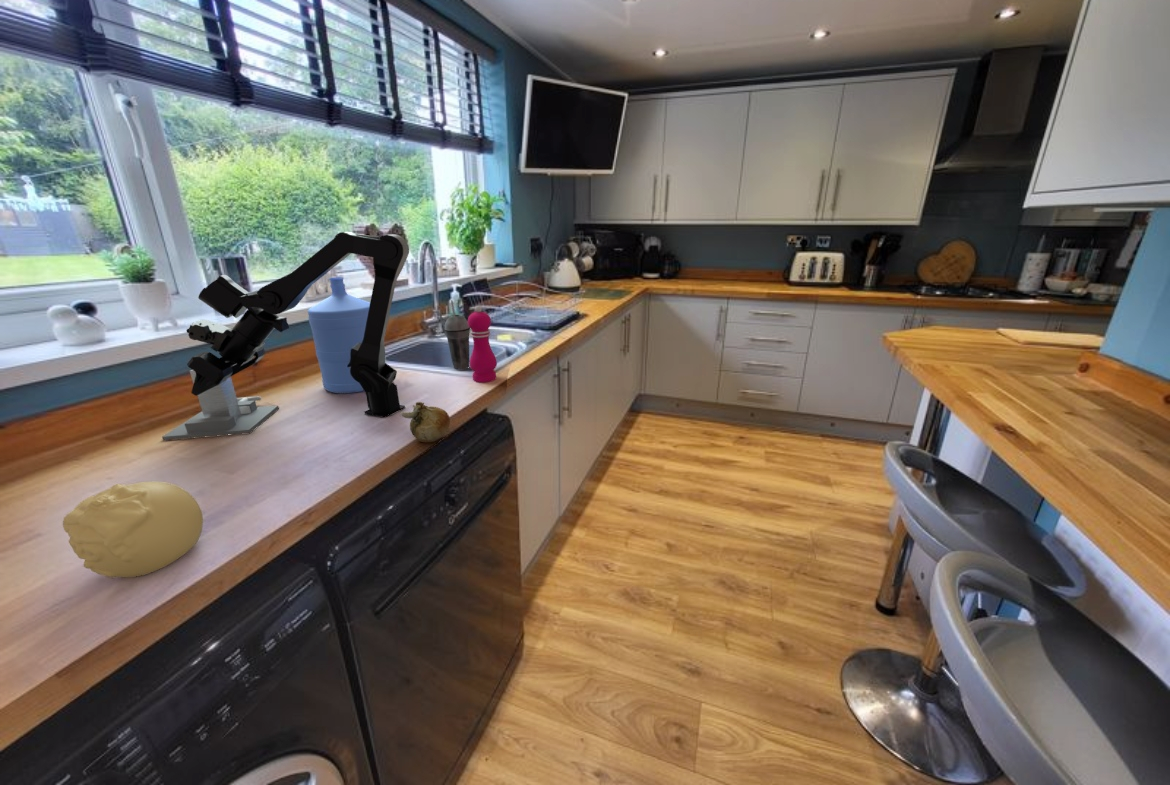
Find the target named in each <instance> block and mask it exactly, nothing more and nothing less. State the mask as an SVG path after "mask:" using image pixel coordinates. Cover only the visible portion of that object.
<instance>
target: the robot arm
mask: <svg viewBox="0 0 1170 785" xmlns="http://www.w3.org/2000/svg"><path fill="white" fill-rule="evenodd" d="M351 254H354V255H358V256H362V257H363V256H364V257H368V258H372V264H373V272H374V281H373V286H372V292H371V296H370V301H369V302H370V306H369V312H368V317H367V322H366V327H365V332H364V338H363V341H362V343H358V344H356V345H355V346H354V347H353V348H352V349H351V353H350V357H351V358H350V362H349V364H348V365H347V367H351V368H350V374H351V376H352V377H353V378H354V380H356V381H357V382H359V383H360V385H361V386H362V388H363V389H364V391H363V392H364V393H365V397H366V402H367V407H368V409H367V410H365V411H363V413H364V415H369V416H373V417H380V418H388V417H391V416H392V415H394V414H396V413H398V412H400V411H402V410H404V409H406V405H404V404H401V403H400V400H399V399H400V398H399V392H398V387H397V386H398V385H397V384H395V383H394V381H395V380H396V377H397V374H398V373H397V372H398V371H397V370H396V369H395V368H393V367H392V366H391V365H389V364H388V363H386V348H385V339H386V338H385V337H386V332H387V328H388V323H389V319H390V318H389V317H390V312H391V308H392V305H393V304H392V302H393V299H394V298H393V297H394V293H395V288H396V283H397V280H398V278H399V276H400V274H401V272H402V271H403V268H404V266H405V264H406V261H407V259H408V257H409V254H410V245H409V244H408V242H407V240H406V239H405V238H403V237H402V236H400V235H398V234H385V235H381V236H375V235H374V236H373V235H366V234H358V233H354V232H351V231H344V232H343V231H342V232H339V233H337V234H336V235H335V236H334V237H333V239H332V240H330V241H329V242H328V243H327V244H325V245H324V246H323V247H321V248H320V249H319V250H318V251H316V252H315V253H314V254H313V255H312V256H311V257H309V258H308V259H306V261H304V262H303V263H302V264H301V265H299V266H298V267H297V268H296V269H294V270H292V272H290V273H288V274H286V275H284V276H282V277H280V278H278V279H275V280H274V281H272V282H270V283H267V284H265V285H263V286H262V287H261V288H259V289H258V290H254V291H251V292H249V291H248V290H246V289H244V288H243V287H242V286H241V285H239V284H238V283H237V282H235V281H234V280H233V279H232V278H231V277H229V276H228V275H227V274H224V275H219V276H218V277H217V278H216V279H215V280H214V281H212V282H210V283H209V284H208V285H206V287H204V288H202V290H201V291H200V292H199V294H198V299H199V301H200V302H203V303H204V304H205V305H207V306H209V307H210V308H211V309H213V310H214V311H216V312H217V313H219V314H220V315H222V316H224V317H225V318H227V319H228V318H231V317H234V318H235V319H237V318H240V319H238V321H237V322H236V324H235V325H234V326H233V327H232V328H230V327H227V326H225V325H223V324H221V323H218V322H214V321H211V320H207V319H200V320H197V321H195V322H191V324H190V325H189V327H188V328H187V329H186V331H185V332H186V333H187V334H188V337H189V339H190V340H193V341H198V342H202V343H205V344H209V345H211V347H210V349H211V350H213V351H214V352H216V353H217V352H218V354H219V355H220V357H218V356H216V355H215V354H213V353H212V352H210V351H209V352H207V351H206V352H201V353H198V354H197V355H194V356H192V357H191V358H190V360H189V361H188V362H187V363H186V365H187V367H188V368H189V369H190V370H193V371H195V373H196V377H195V381H194V384H193V383H192V388H191V394H192V395H194V397H195V396H196V397H198V396H197V395H199V394H201V393H203V392H205V391H207V390H209V389H211V388H213V387H215V386H217V385H219V384H221V383H222V382H224V381H226V380H227V378H228V377H230V376H231V377H232V376H234V375H236V374H238V373H239V372H242V371H244V370H246V369H248V368H250V367H252V366H254V365H255V364H257V362H259V361H260V360H262V359H263V357H264V356H265V354H266V351H265V348H264V345H265V344H266V343H267V342H266V340H267V338H268V337H269V336H270V335H271V333H272V332H273V331H274V330H276V331H278V332H280V333H283V332H285V331H287V330H288V329H290V326H289V322H288V320H287V319H288V318H287V316H279V315H280V314H283V313H286V312H288V311H290V310H293V309H294V308H295V307H297V305H298V304H299V303H300V302H301V301H302V299H303V298H304V297H305V296H306V294H307V293H308V291H309V290H310V288H311V287H312V286H313V285H314V284H315V283H316V282H317V281H319V280H320V279H321V278H323V277H324V276H325V275H327V274H328V273H329V272H330V271H331V270H332V269H334V268H335V267H336V266H337V265H339V264H341V263H342V261H344V260H345V259H346V258H347V257H349V256H350V255H351ZM240 316H241V317H240Z"/></svg>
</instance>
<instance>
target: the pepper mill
mask: <svg viewBox="0 0 1170 785" xmlns="http://www.w3.org/2000/svg"><path fill="white" fill-rule="evenodd" d="M482 310H483V309H482V307H481V306H480V305H476V306H475V307H474V312H472V313H470V314H469V316H468V317H467V321H468V326H469V327H470V336H471V337H472V340H473V345H472V346H473V347H472V348H473V349H472V352H471V355H470V356H469V368H470V369H471V370H472V371H473V373H472V380H473V381H474V382H475V381H476V383H489V382H492V381H495V380H496V379H497V372H496V371H495V369H496V367H497V365H498V362H497V358H496V355H495V353H494V352H493V350H492V347H491V344H490V340H489V339H490V336H491V333H490V332H491V330H490V327H491V325H492V320H491V316H490V315H489V314H488V313H487V312H484V311H482Z"/></svg>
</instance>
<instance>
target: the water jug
mask: <svg viewBox="0 0 1170 785" xmlns="http://www.w3.org/2000/svg"><path fill="white" fill-rule="evenodd" d="M328 280H329V281H330V289H331V295H330V296H328V297H327V298H325V299H322V300H321V301H319V302H318V303H316V304H315V305H313V306H311V307H310V308H308V310H307V315H308V323H309V326H310V329H311V334H312V338H313V342H314V347H315V355H316V358H317V360H318V364H319V365H318V366H319V369H320V374H321V381H322V385H323V388H324V389H325V390H326V391H328V392H330V393H334V394H351V393H352V394H353V393H361V392H365V391H364V389H363V388H362V386H361V385H360V383H359V382H357V381H356V380H354V378H353V377H352V376H351V374H350V368H351V367H347V365H348V364H349V362H350V358H351V357H350V353H351V349H352V348H353V347H354V346H355V345H356V344H358V343H362V341H363V338H364V332H365V327H366V322H367V317H368V312H369V306H370V301H367V300H364V299H362V298H359V297H355V296H353V295H351V294H349V293H348V292H347V291H346V288H345V287H346V285H345V283H344V277H343V276H342V277H341V276H340V277H339V276H338V277H337V276H336V277H329V278H328Z"/></svg>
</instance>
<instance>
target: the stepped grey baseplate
mask: <svg viewBox="0 0 1170 785" xmlns="http://www.w3.org/2000/svg"><path fill="white" fill-rule="evenodd" d="M237 401H238V404H239V408H240V411H241V415H242V416H241V417H239V418H238V419H237V420H235V417H234V416H229V417H215V418H204V415H203V412H202V410H201V411H200V412H198V413H197V414H195V415H193V416H192V417H190V418H189V419H187V420H186V421H184V422H183V423H181V424H179V425H178V426H176V427H175V428H173V429H172V430H170V431H169V432H166V433H165V434H163V435H162V436H161V438H162V440H163V441H170V440H169V439H174V440H184V439H183V438H187V439H195V438H194V437H199V438H206V437H205V436H211V437H218V436H217V435H224V436H229V435H228V434H236V435H243V434H242V433H249V434H251V433H252V432H253V431H255V430H256V429H257V428H258V427H260V426H261V425H262V424H263V423H264V422H265V421H266V420H267V419H269V418H270V417H271V416H272V415H274V414H275V413H276V412H277V411H278V410H279V405H268V406H267V405H266V406H265V405H264V406H257V403H256V402H258V401H259V402H260V401H262V396H258V395H257V396H246V397H243V396H242V397H237ZM276 410H277V411H276ZM275 411H276V412H275ZM271 414H272V415H271ZM270 415H271V416H270ZM269 416H270V417H269ZM268 417H269V418H268ZM263 421H264V422H263ZM262 422H263V423H262ZM261 423H262V424H261ZM256 427H257V428H256ZM255 428H256V429H255ZM254 429H255V430H254ZM251 431H252V432H251ZM250 432H251V433H250Z"/></svg>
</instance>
